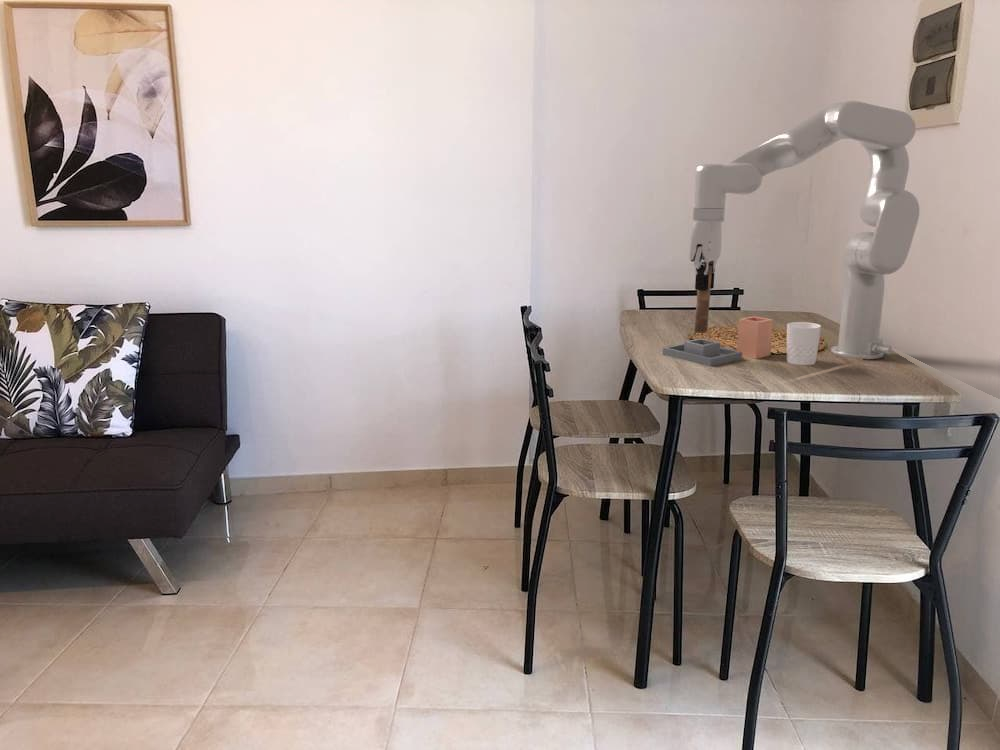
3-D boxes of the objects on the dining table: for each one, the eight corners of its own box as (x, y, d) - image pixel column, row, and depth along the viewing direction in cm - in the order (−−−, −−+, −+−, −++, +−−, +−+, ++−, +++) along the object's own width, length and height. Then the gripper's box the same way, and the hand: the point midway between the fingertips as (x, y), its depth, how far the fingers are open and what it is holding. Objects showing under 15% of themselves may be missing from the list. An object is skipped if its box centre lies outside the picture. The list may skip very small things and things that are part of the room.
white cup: (801, 369, 192) (805, 329, 189) (777, 362, 199) (780, 324, 196) (824, 365, 195) (828, 326, 193) (799, 358, 202) (802, 320, 200)
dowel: (709, 332, 202) (714, 266, 197) (701, 333, 200) (706, 266, 195) (700, 329, 204) (705, 264, 200) (691, 331, 203) (696, 265, 198)
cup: (770, 357, 204) (773, 319, 202) (755, 360, 201) (758, 322, 198) (751, 353, 209) (753, 316, 206) (736, 356, 206) (738, 319, 203)
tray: (741, 361, 201) (742, 344, 200) (710, 368, 194) (711, 350, 193) (693, 350, 214) (694, 334, 212) (662, 356, 207) (663, 340, 206)
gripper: (706, 213, 203) (701, 284, 208) (681, 217, 190) (677, 292, 195) (734, 214, 199) (729, 286, 204) (711, 217, 186) (706, 294, 191)
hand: (704, 288), depth 199 cm, fingers closed on dowel, 3 cm apart
